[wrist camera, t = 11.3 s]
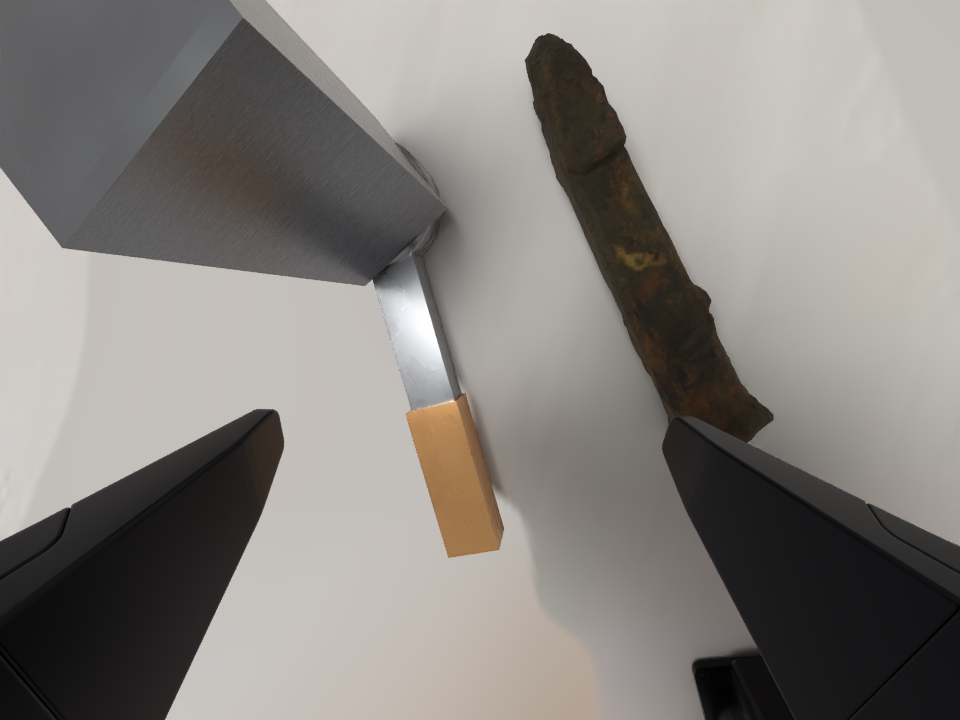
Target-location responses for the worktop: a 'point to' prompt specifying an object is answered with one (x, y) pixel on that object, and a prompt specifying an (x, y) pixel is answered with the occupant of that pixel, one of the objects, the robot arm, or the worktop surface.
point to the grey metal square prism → (199, 140)
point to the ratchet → (437, 401)
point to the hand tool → (635, 246)
